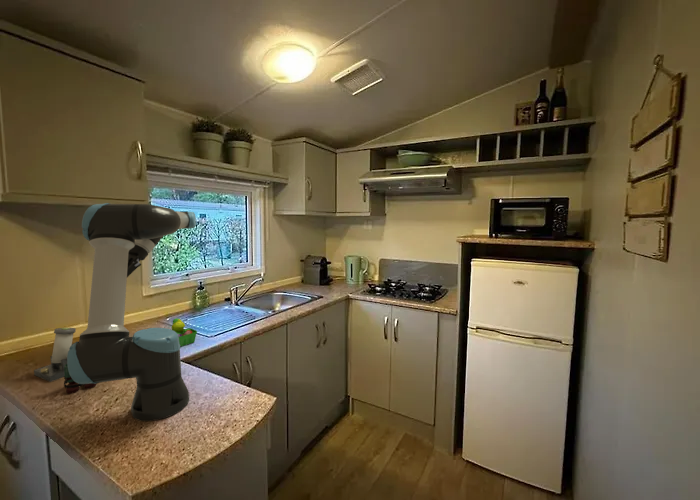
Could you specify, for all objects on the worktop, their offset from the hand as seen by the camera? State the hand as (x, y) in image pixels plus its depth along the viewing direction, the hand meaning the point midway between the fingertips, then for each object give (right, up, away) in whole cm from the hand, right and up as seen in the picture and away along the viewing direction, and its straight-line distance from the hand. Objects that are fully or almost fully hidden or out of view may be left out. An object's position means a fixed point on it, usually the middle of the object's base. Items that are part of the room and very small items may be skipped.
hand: (102, 294), depth 132 cm
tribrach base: (-7, -27, -12) cm, 30 cm away
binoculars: (+10, -29, -22) cm, 38 cm away
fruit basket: (+24, -24, +14) cm, 37 cm away
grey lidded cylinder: (-7, -24, -12) cm, 27 cm away
